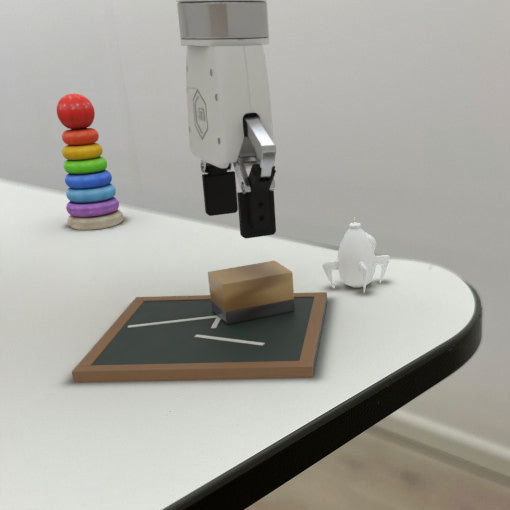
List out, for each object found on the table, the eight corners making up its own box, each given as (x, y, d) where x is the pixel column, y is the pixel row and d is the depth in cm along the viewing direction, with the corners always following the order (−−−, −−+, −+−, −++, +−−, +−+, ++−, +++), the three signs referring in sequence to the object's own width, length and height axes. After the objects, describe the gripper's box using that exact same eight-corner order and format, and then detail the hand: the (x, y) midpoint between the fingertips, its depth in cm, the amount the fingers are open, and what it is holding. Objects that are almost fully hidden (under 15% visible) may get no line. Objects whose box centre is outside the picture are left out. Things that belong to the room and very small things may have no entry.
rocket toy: (390, 284, 85) (389, 213, 82) (367, 299, 81) (365, 225, 77) (348, 277, 87) (345, 208, 84) (323, 292, 83) (319, 220, 80)
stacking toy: (135, 221, 116) (114, 91, 109) (98, 234, 110) (74, 96, 102) (95, 217, 120) (72, 91, 112) (57, 230, 113) (30, 96, 105)
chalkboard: (74, 385, 64) (71, 371, 63) (138, 308, 81) (136, 296, 80) (313, 380, 63) (312, 366, 63) (327, 303, 80) (326, 291, 79)
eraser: (226, 324, 72) (222, 284, 70) (211, 310, 75) (207, 271, 74) (295, 310, 75) (292, 271, 73) (277, 297, 78) (274, 260, 77)
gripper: (153, 26, 71) (174, 210, 78) (215, 28, 57) (233, 252, 64) (231, 25, 74) (244, 202, 81) (306, 26, 60) (314, 239, 67)
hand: (239, 224), depth 72 cm, fingers open, 9 cm apart
